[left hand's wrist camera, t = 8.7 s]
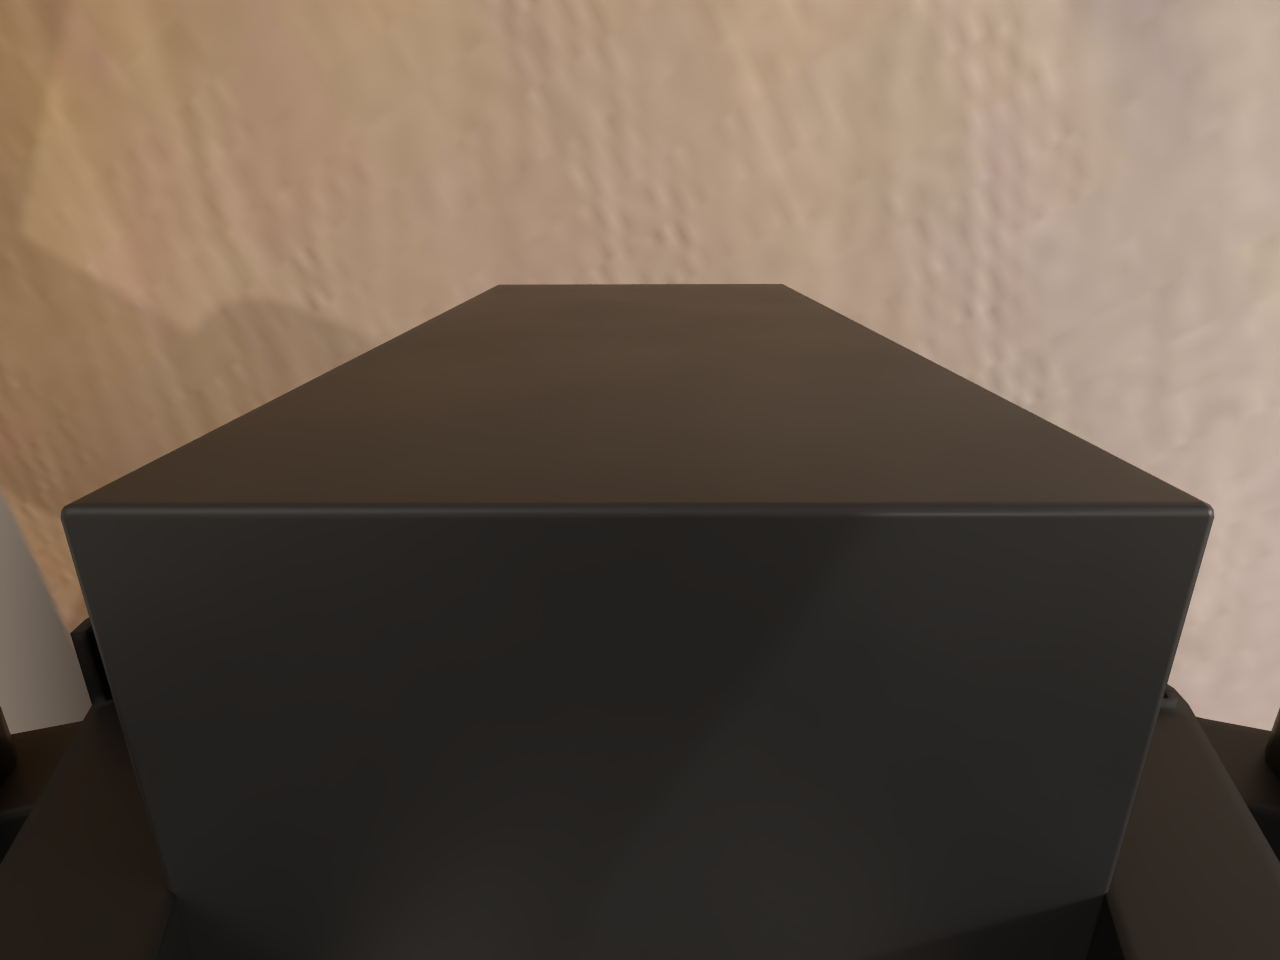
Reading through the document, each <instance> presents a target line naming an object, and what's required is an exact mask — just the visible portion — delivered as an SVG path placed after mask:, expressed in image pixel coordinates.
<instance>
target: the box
mask: <svg viewBox="0 0 1280 960" xmlns="http://www.w3.org/2000/svg"><path fill="white" fill-rule="evenodd" d="M1213 519H1214V511H1213V508H1212V507H1211V506H1210V505H1209V504H1207V503H1205V502H1203V501H1201V500H1199V499H1197V498H1195V497H1194V496H1192V495H1190V494H1188V493H1186V492H1184V491H1182V490H1180V489H1178V488H1176V487H1174V486H1172V485H1170V484H1168V483H1166V482H1165V481H1163V480H1161V479H1159V478H1157V477H1155V476H1153V475H1151V474H1149V473H1147V472H1145V471H1143V470H1141V469H1139V468H1137V467H1135V466H1134V465H1132V464H1130V463H1128V462H1126V461H1124V460H1122V459H1120V458H1118V457H1116V456H1114V455H1112V454H1110V453H1108V452H1106V451H1105V450H1103V449H1101V448H1099V447H1097V446H1095V445H1093V444H1091V443H1089V442H1087V441H1085V440H1083V439H1081V438H1079V437H1077V436H1075V435H1074V434H1072V433H1070V432H1068V431H1066V430H1064V429H1062V428H1060V427H1058V426H1056V425H1054V424H1052V423H1050V422H1048V421H1046V420H1045V419H1043V418H1041V417H1039V416H1037V415H1035V414H1033V413H1031V412H1029V411H1027V410H1025V409H1023V408H1021V407H1019V406H1017V405H1015V404H1014V403H1012V402H1010V401H1008V400H1006V399H1004V398H1002V397H1000V396H998V395H996V394H994V393H992V392H990V391H988V390H986V389H984V388H983V387H981V386H979V385H977V384H975V383H973V382H971V381H969V380H967V379H965V378H963V377H961V376H959V375H957V374H955V373H954V372H952V371H950V370H948V369H946V368H944V367H942V366H940V365H938V364H936V363H934V362H932V361H930V360H928V359H926V358H924V357H923V356H921V355H919V354H917V353H915V352H913V351H911V350H909V349H907V348H905V347H903V346H901V345H899V344H897V343H895V342H894V341H892V340H890V339H888V338H886V337H884V336H882V335H880V334H878V333H876V332H874V331H872V330H870V329H868V328H866V327H864V326H863V325H861V324H859V323H857V322H855V321H853V320H851V319H849V318H847V317H845V316H843V315H841V314H839V313H837V312H835V311H833V310H832V309H830V308H828V307H826V306H824V305H822V304H820V303H818V302H816V301H814V300H812V299H810V298H808V297H806V296H804V295H803V294H801V293H799V292H797V291H795V290H793V289H791V288H789V287H787V286H785V285H783V284H632V285H497V286H495V287H493V288H491V289H489V290H487V291H486V292H484V293H482V294H480V295H478V296H476V297H474V298H472V299H470V300H468V301H466V302H464V303H462V304H460V305H458V306H456V307H454V308H452V309H450V310H448V311H446V312H444V313H442V314H440V315H439V316H437V317H435V318H433V319H431V320H429V321H427V322H425V323H423V324H421V325H419V326H417V327H415V328H413V329H411V330H409V331H407V332H405V333H403V334H401V335H399V336H397V337H395V338H393V339H392V340H390V341H388V342H386V343H384V344H382V345H380V346H378V347H376V348H374V349H372V350H370V351H368V352H366V353H364V354H362V355H360V356H358V357H356V358H354V359H352V360H350V361H348V362H346V363H345V364H343V365H341V366H339V367H337V368H335V369H333V370H331V371H329V372H327V373H325V374H323V375H321V376H319V377H317V378H315V379H313V380H311V381H309V382H307V383H305V384H303V385H301V386H299V387H298V388H296V389H294V390H292V391H290V392H288V393H286V394H284V395H282V396H280V397H278V398H276V399H274V400H272V401H270V402H268V403H266V404H264V405H262V406H260V407H258V408H256V409H254V410H252V411H251V412H249V413H247V414H245V415H243V416H241V417H239V418H237V419H235V420H233V421H231V422H229V423H227V424H225V425H223V426H221V427H219V428H217V429H215V430H213V431H211V432H209V433H207V434H205V435H204V436H202V437H200V438H198V439H196V440H194V441H192V442H190V443H188V444H186V445H184V446H182V447H180V448H178V449H176V450H174V451H172V452H170V453H168V454H166V455H164V456H162V457H160V458H158V459H157V460H155V461H153V462H151V463H149V464H147V465H145V466H143V467H141V468H139V469H137V470H135V471H133V472H131V473H129V474H127V475H125V476H123V477H121V478H119V479H117V480H115V481H113V482H111V483H110V484H108V485H106V486H104V487H102V488H100V489H98V490H96V491H94V492H92V493H90V494H88V495H86V496H84V497H82V498H80V499H78V500H76V501H74V502H72V503H70V504H68V505H66V506H65V507H64V508H63V509H62V511H61V521H62V524H63V528H64V531H65V535H66V538H67V541H68V545H69V548H70V552H71V555H72V559H73V562H74V566H75V569H76V572H77V576H78V579H79V583H80V586H81V590H82V593H83V597H84V600H85V604H86V607H87V610H88V614H89V617H90V621H91V624H92V628H93V631H94V635H95V638H96V641H97V645H98V648H99V652H100V655H101V659H102V662H103V666H104V669H105V673H106V676H107V679H108V683H109V686H110V690H111V693H112V697H113V700H114V704H115V707H116V710H117V714H118V717H119V721H120V724H121V728H122V731H123V735H124V738H125V742H126V745H127V748H128V752H129V755H130V759H131V762H132V766H133V769H134V773H135V776H136V779H137V783H138V786H139V790H140V793H141V797H142V800H143V804H144V807H145V810H146V814H147V817H148V821H149V824H150V828H151V831H152V835H153V838H154V842H155V845H156V848H157V852H158V855H159V859H160V862H161V866H162V869H163V873H164V876H165V879H166V883H167V886H168V890H169V891H170V892H172V893H174V894H175V895H176V898H177V902H178V905H179V909H180V912H181V916H182V919H183V923H184V926H185V930H186V933H187V937H188V940H189V944H190V947H191V951H192V954H193V958H194V960H1086V959H1087V956H1088V952H1089V949H1090V945H1091V942H1092V938H1093V935H1094V931H1095V928H1096V924H1097V921H1098V917H1099V914H1100V910H1101V907H1102V903H1103V900H1104V896H1105V893H1107V892H1108V891H1109V887H1110V884H1111V880H1112V877H1113V873H1114V870H1115V866H1116V863H1117V859H1118V856H1119V852H1120V849H1121V845H1122V841H1123V838H1124V834H1125V831H1126V827H1127V824H1128V820H1129V817H1130V813H1131V810H1132V806H1133V802H1134V799H1135V795H1136V792H1137V788H1138V785H1139V781H1140V778H1141V774H1142V771H1143V767H1144V764H1145V760H1146V756H1147V753H1148V749H1149V746H1150V742H1151V739H1152V735H1153V732H1154V728H1155V725H1156V721H1157V717H1158V714H1159V710H1160V707H1161V703H1162V700H1163V696H1164V693H1165V689H1166V686H1167V682H1168V679H1169V675H1170V671H1171V668H1172V664H1173V661H1174V657H1175V654H1176V650H1177V647H1178V643H1179V640H1180V636H1181V632H1182V629H1183V625H1184V622H1185V618H1186V615H1187V611H1188V608H1189V604H1190V601H1191V597H1192V593H1193V590H1194V586H1195V583H1196V579H1197V576H1198V572H1199V569H1200V565H1201V562H1202V558H1203V555H1204V551H1205V547H1206V544H1207V540H1208V537H1209V533H1210V530H1211V526H1212V523H1213Z"/></svg>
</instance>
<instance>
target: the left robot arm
mask: <svg viewBox="0 0 1280 960" xmlns="http://www.w3.org/2000/svg"><path fill="white" fill-rule="evenodd" d="M70 634H71V637H72V641H73V644H74V647H75V650H76V654H77V657H78V660H79V664H80V667H81V670H82V673H83V677H84V680H85V683H86V686H87V690H88V693H89V696H90V700H91V703H92V706H91V708H90V710H89V711H88V713H87V715H86V717H85V718H84V720H83V721H80V722H75V723H70V724H64V725H59V726H54V727H48V728H43V729H38V730H33V731H27V732H22V733H17V734H12V735H10V732H9V729H8V726H7V723H6V721H5V718H4V715H3V712H2V709H1V707H0V960H194V958H193V954H192V951H191V947H190V944H189V940H188V937H187V933H186V930H185V926H184V923H183V919H182V916H181V912H180V909H179V905H178V902H177V898H176V895H175V894H174V893H172V892H170V891H169V890H168V886H167V883H166V879H165V876H164V873H163V869H162V866H161V862H160V859H159V855H158V852H157V848H156V845H155V842H154V838H153V835H152V831H151V828H150V824H149V821H148V817H147V814H146V810H145V807H144V804H143V800H142V797H141V793H140V790H139V786H138V783H137V779H136V776H135V773H134V769H133V766H132V762H131V759H130V755H129V752H128V748H127V745H126V742H125V738H124V735H123V731H122V728H121V724H120V721H119V717H118V714H117V710H116V707H115V704H114V700H113V697H112V693H111V690H110V686H109V683H108V679H107V676H106V673H105V669H104V666H103V662H102V659H101V655H100V652H99V648H98V645H97V641H96V638H95V635H94V631H93V628H92V624H91V621H90V617H89V618H87V619H86V620H85V621H83V622H82V623H81V624H80V625H79V626H78V627H77V628H76V629H75V630H73V631H72V632H71V633H70ZM1086 960H1280V709H1279V712H1278V714H1277V717H1276V720H1275V723H1274V726H1273V728H1272V731H1267V730H1262V729H1256V728H1251V727H1246V726H1240V725H1235V724H1230V723H1224V722H1219V721H1214V720H1208V719H1203V718H1199V717H1195V715H1194V713H1193V712H1192V710H1191V708H1190V706H1189V705H1188V703H1187V702H1186V701H1185V700H1184V699H1183V698H1182V697H1181V696H1180V694H1179V693H1178V692H1177V691H1176V690H1175V689H1174V688H1173V687H1171V686H1169V685H1168V684H1167V686H1166V689H1165V693H1164V696H1163V700H1162V703H1161V707H1160V710H1159V714H1158V717H1157V721H1156V725H1155V728H1154V732H1153V735H1152V739H1151V742H1150V746H1149V749H1148V753H1147V756H1146V760H1145V764H1144V767H1143V771H1142V774H1141V778H1140V781H1139V785H1138V788H1137V792H1136V795H1135V799H1134V802H1133V806H1132V810H1131V813H1130V817H1129V820H1128V824H1127V827H1126V831H1125V834H1124V838H1123V841H1122V845H1121V849H1120V852H1119V856H1118V859H1117V863H1116V866H1115V870H1114V873H1113V877H1112V880H1111V884H1110V887H1109V891H1108V892H1107V893H1105V896H1104V900H1103V903H1102V907H1101V910H1100V914H1099V917H1098V921H1097V924H1096V928H1095V931H1094V935H1093V938H1092V942H1091V945H1090V949H1089V952H1088V956H1087V959H1086Z"/></svg>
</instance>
